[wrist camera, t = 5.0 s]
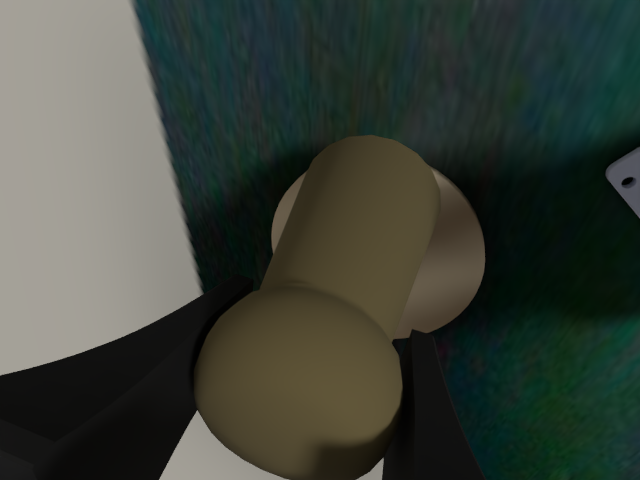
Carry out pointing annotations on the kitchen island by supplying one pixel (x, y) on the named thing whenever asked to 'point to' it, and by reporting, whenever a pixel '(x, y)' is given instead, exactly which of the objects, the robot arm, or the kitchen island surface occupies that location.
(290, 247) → the pepper shaker
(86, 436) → the robot arm
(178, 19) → the kitchen island surface
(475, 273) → the cork trivet
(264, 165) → the kitchen island surface
